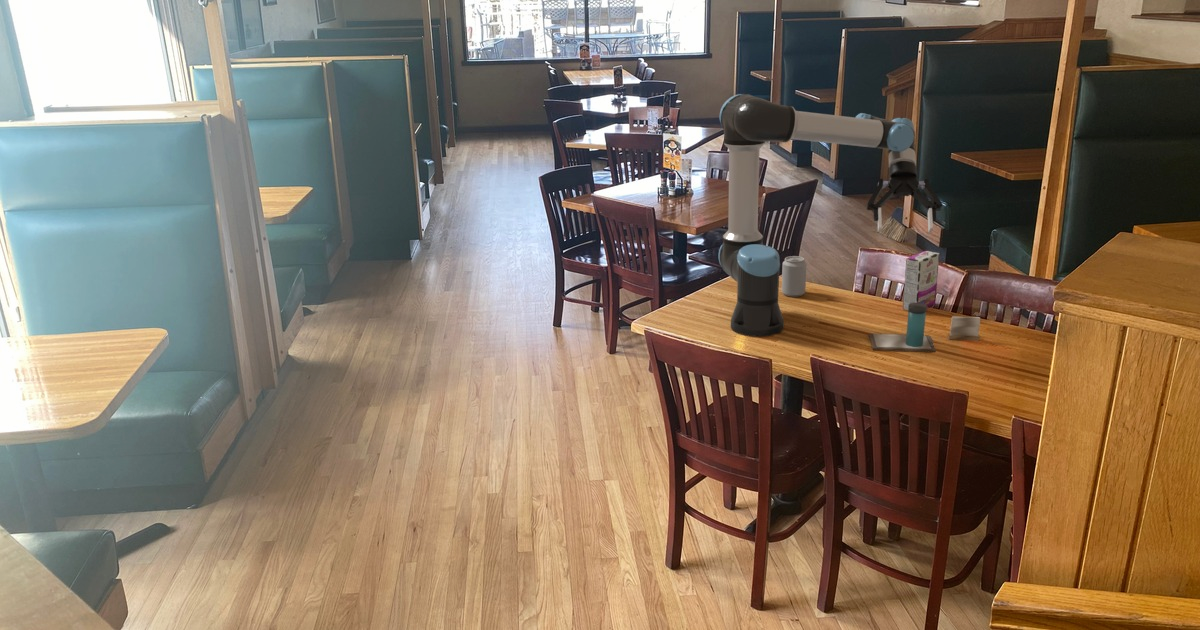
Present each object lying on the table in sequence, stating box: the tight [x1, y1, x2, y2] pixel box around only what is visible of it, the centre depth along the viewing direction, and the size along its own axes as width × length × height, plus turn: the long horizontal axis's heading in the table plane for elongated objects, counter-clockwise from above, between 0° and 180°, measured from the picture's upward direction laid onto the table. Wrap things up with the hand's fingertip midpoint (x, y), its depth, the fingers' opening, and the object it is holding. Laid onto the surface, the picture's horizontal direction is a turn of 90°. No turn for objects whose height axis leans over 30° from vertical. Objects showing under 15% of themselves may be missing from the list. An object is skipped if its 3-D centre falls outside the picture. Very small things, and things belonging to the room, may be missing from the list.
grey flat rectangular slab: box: [868, 333, 937, 353], centre depth 237 cm, size 16×11×2 cm
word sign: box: [947, 316, 981, 342], centre depth 238 cm, size 8×2×6 cm, turn 79°
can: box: [781, 255, 808, 298], centre depth 278 cm, size 8×8×12 cm
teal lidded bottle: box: [905, 303, 928, 347], centre depth 233 cm, size 5×5×11 cm
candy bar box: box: [902, 250, 940, 311], centre depth 262 cm, size 11×5×16 cm, turn 131°
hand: (905, 230), depth 243 cm, fingers open, 13 cm apart
